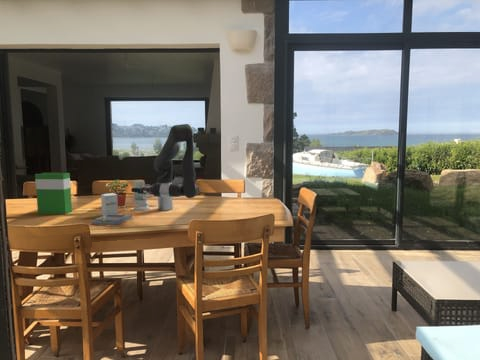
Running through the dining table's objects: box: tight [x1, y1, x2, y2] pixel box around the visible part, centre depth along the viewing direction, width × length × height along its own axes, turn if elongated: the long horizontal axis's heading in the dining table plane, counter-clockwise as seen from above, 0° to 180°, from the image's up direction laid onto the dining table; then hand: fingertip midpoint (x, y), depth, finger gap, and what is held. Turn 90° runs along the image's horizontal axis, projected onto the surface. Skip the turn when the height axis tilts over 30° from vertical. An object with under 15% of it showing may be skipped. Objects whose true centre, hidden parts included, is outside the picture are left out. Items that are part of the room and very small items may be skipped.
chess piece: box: [133, 193, 151, 212], centre depth 252 cm, size 10×10×15 cm
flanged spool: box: [131, 180, 147, 203], centre depth 222 cm, size 8×8×11 cm
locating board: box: [91, 213, 132, 227], centre depth 220 cm, size 18×14×4 cm
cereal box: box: [34, 172, 73, 215], centre depth 242 cm, size 18×7×24 cm, turn 84°
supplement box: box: [100, 192, 119, 216], centre depth 235 cm, size 7×7×13 cm
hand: (134, 189), depth 222 cm, fingers closed on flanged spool, 5 cm apart
